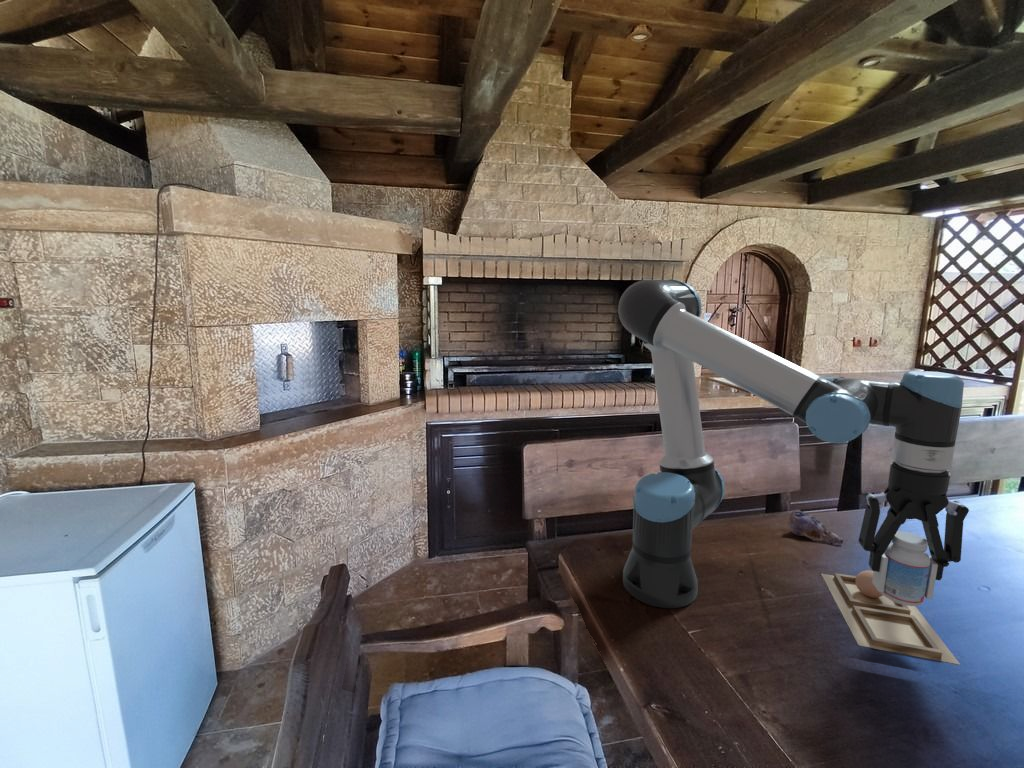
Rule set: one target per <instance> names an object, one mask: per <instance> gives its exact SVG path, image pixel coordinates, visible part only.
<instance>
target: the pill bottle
mask: <svg viewBox="0 0 1024 768" xmlns="http://www.w3.org/2000/svg"><path fill="white" fill-rule="evenodd" d="M927 550H928V541H927V539H926V538H924V537H922V536H921V535H919V534H917V533H916V534H915V533H912V532H909V531H900V530H898V531H897V532H896V534H895V536H894V537H893V539H892V541H891V542H890V544H889V546H888V547H887V549H886V551H885V552H884V553H885V555H886V556H887V557H888V564H887V571H886V578H885V585H884V592H881V594H882V595H884V596H885V597H886V598H888V599H889V600H891V601H893V602H896V603H898V604H902V605H907V606H916V607H919V606H921V605H923V603H924V600H925V590H926V584H927V579H928V574H929V568H930V558H929V556H930V555H928V553H927Z"/></svg>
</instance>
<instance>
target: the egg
mask: <svg viewBox="0 0 1024 768" xmlns="http://www.w3.org/2000/svg"><path fill="white" fill-rule="evenodd" d="M873 573H874V571H872V570H867V569H866V570H863V571H860V572H859V573H857V575H855V576H856V586H857V588H858V589H859V590H860V591H861V592H862V593H863V594H864V595H866V596H869V597H872V598H878V597H881V596H883V595H882V594H881V592H879V591H878V590H877V589H876V587H875V586H874V584H873V583H872V580H873Z"/></svg>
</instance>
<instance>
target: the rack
mask: <svg viewBox="0 0 1024 768" xmlns="http://www.w3.org/2000/svg"><path fill="white" fill-rule="evenodd" d="M820 574H821V578H822V579H823V582H824V583H825V584H826V586H827V588H828V590H829V592H830V594H831V596H832V597H833V600H834V602H835V603H836V605H837V607H838V609H839V611H840V613H841V615H842V617H843V619H844V621H845V622H846V624H847V626H848V628H849V630H850V632H851V634H852V636H853V638H854V639H855V641H856V643H857V645H858V646H860V647H865V648H871V649H875V650H879V651H880V650H881V651H886V652H890V653H896V654H901V655H906V656H911V657H918V658H922V659H928V660H933V661H938V662H944V663H948V664H954V665H958V666H960V665H961V663H960V662H959V661H958V660H957V658H956V657H955V656H954V654H953V653H952V652H951V650H950V649H949V648H948V646H946V644H945V643H944V642H943V641H944V640H942V639H941V637H940V636H939V634H937V632H936V631H935V629H934V628H933V627H932V626H931V625H930V623H929V622H928V621H927V620H926V618H925V617H924V615H923V614H922V613H921V612H920V610H919V609H918V608H917V606H907V605H902V604H898V603H896V602H893V601H891V600H889V599H888V598H886V597H885V596H884V595H883V596H881V597H878V598H872V597H869V596H866V595H864V594H863V593H862V592H861V591H860V590H859V589H858V588H857V586H856V576H857V575H851V574H850V575H849V574H844V573H836V572H834V573H833V575H832V574H826V573H820Z"/></svg>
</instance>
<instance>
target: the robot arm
mask: <svg viewBox="0 0 1024 768" xmlns="http://www.w3.org/2000/svg"><path fill="white" fill-rule="evenodd" d="M699 295H700V294H699V293H698V292H697V291H696V290H695V288H694V287H692V285H690V284H688V283H686V282H682V281H681V280H676V279H643V280H639V281H635V282H634V283H632V284H631V285H629V286H628V287H627V288H626V289H625V290H624V292H623V293H622V294H621V296H620V299H619V302H618V311H617V312H618V318H619V321H620V323H621V324H622V326H623V327H624V328H625V329H626V331H628V332H629V333H630V334H631V335H633V336H635V337H636V338H638V339H639V340H642V345H643V346H644V347H645V348H646V349H648V350H649V351H650V354H651V359H652V367H653V368H652V369H653V376H654V380H655V381H654V382H655V389H656V395H657V396H656V398H657V404H658V412H659V418H660V426H661V435H662V442H663V448H664V455H663V456H662V458H660V460H659V470H660V471H659V472H657V473H649V474H646V475H644V476H642V477H641V478H640V479H638V481H637V483H636V484H635V488H634V494H633V498H632V502H633V517H632V518H633V520H632V547H631V550H630V552H629V555H628V556H627V560H626V562H625V564H624V566H623V570H622V584H623V587H624V588H625V590H626V592H628V594H629V595H630V596H631V597H633V598H635V599H636V600H637V601H640V602H641V603H644V604H646V605H649V606H652V607H657V608H661V609H662V608H663V609H678V608H679V609H680V608H682V607H683V608H684V607H686V606H689V605H690V604H692V603H693V602H694V601H696V598H697V596H698V585H699V584H698V583H699V582H698V578H697V575H696V572H695V568H694V564H693V560H692V557H691V555H692V553H691V550H692V538H693V537H692V536H693V530H694V529H695V528H696V527H697V526H698V525H699V524H701V522H703V521H704V520H705V519H706V518H707V517H708V516H709V515H711V514H713V513H714V512H715V511H716V510H717V509H718V508H719V505H720V503H721V502H722V500H723V498H724V496H725V492H726V491H725V489H726V487H725V482H724V478H723V476H722V474H721V473H720V471H718V470H717V469H716V468H715V460H714V457H713V456H711V455H710V454H709V453H707V452H706V448H705V441H704V434H703V425H702V417H701V410H700V403H699V393H698V387H697V379H696V371H695V365H694V363H695V364H697V365H699V366H700V367H703V368H704V369H707V370H708V371H710V372H712V373H713V374H715V375H718V377H721V378H723V379H724V380H726V381H728V382H730V383H731V384H734V385H735V386H737V387H739V388H742V390H745V391H747V392H749V393H750V394H751V395H755V397H757V398H760V399H761V400H764V402H767V403H769V404H771V405H772V406H774V407H776V408H778V409H779V410H781V411H783V412H785V413H786V414H789V415H791V416H793V417H794V418H797V419H799V420H800V421H802V422H803V423H805V424H806V426H807V428H808V430H809V431H810V432H811V434H813V435H814V436H815V437H816V438H818V439H820V440H821V441H822V442H823V441H824V442H825V443H830V444H831V443H832V444H843V443H844V444H845V443H848V442H851V441H853V440H855V439H857V438H858V437H859V436H860V435H861V434H863V433H865V432H866V431H867V429H868V428H869V426H870V425H877V426H884V427H895V432H894V438H893V445H892V453H891V459H892V460H893V461H892V462H890V467H889V472H888V473H889V475H888V485H887V487H886V489H885V490H884V491H883V493H882V492H881V493H876V494H875V493H874V494H873V493H872V492H869V491H868V492H865V493H864V500H865V504H866V505H865V510H864V514H863V518H862V522H861V527H860V531H859V537H858V541H857V542H858V543H859V545H860V546H861V548H862V549H863V550H864V551H865V552H869V560H868V566H869V568H870V570H871V571H874V573H873V580H872V583H873V584H874V586H875V587H876V589H877V590H878V591H879V592H884V585H885V578H886V571H887V564H888V557H887V556H886V555H885V553H884V552H885V551H886V549H887V547H888V546H889V544H891V543H892V539H893V537H894V536H895V534H896V532H897V531H899V529H900V528H901V525H904V524H905V523H906V521H907V520H918V521H920V522H921V525H922V527H923V532H924V536H925V539H926V540H927V541H928V546H927V548H928V550H929V553H930V555H928V556H929V558H930V568H929V574H928V579H927V584H926V590H925V596H924V598H925V599H926V600H931V601H932V600H933V597H934V591H935V586H936V585H935V584H936V581H941V580H942V579H943V574H944V573H943V572H944V569H945V568H947V567H948V566H949V565H950V562H953V563H959V562H961V560H962V559H961V558H962V548H963V547H962V546H963V532H964V521H965V519H966V517H967V515H968V514H969V512H970V509H969V507H967V506H966V505H965V504H963V503H961V502H960V501H958V500H953V501H952V500H950V499H949V498H948V497H947V494H948V491H949V484H950V479H951V472H950V471H949V470H950V469H951V468H952V467H953V466H952V465H953V459H954V453H955V447H956V441H957V436H958V435H957V434H958V430H959V424H960V419H961V418H960V417H961V414H962V407H963V398H964V396H963V395H964V386H965V382H964V380H963V379H962V378H961V377H960V376H958V375H956V374H952V373H946V372H939V371H927V370H926V371H921V370H913V371H906V372H905V373H904V374H903V375H902V379H900V381H890V382H889V381H879V380H869V379H861V378H860V379H859V378H850V377H849V378H848V377H844V376H837V377H833V376H832V377H831V376H822V377H821V375H818V374H816V373H814V372H812V371H810V370H809V369H806V368H804V367H801V366H799V365H798V364H796V363H793V362H791V361H789V360H787V359H785V358H783V357H781V356H779V355H777V354H775V353H773V352H771V351H770V350H766V349H765V348H763V347H761V346H759V345H757V344H754V343H753V342H750V341H748V340H746V339H744V338H742V337H740V336H738V335H736V334H734V333H731V332H730V331H728V330H726V329H723V328H722V327H719V326H717V325H716V324H713V323H711V322H709V321H707V320H705V319H703V318H702V317H701V315H702V314H701V313H702V300H701V297H700V296H699ZM869 424H870V425H869ZM885 502H887V503H888V505H890V506H889V509H888V510H887V512H886V517H885V518H884V520H883V522H882V523H881V525H880V527H879V529H878V530H877V527H878V524H879V519H880V515H881V508H883V507H884V503H885ZM944 509H945V512H946V513H945V527H944V541H943V542H942V538H941V534H940V530H939V521H938V518H937V515H938V514H939V513H940V512H942V511H943V510H944ZM943 543H944V544H943Z"/></svg>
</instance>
